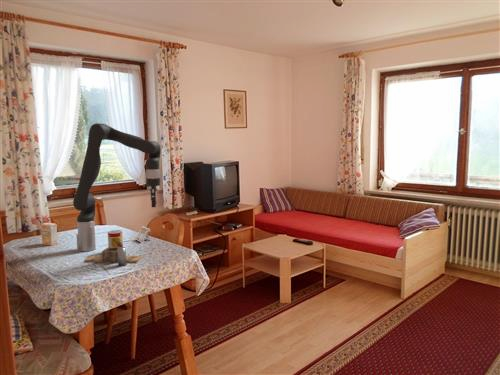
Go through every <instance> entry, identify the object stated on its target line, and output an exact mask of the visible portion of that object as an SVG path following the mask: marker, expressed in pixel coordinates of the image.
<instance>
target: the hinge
mask: <svg viewBox="0 0 500 375" xmlns="http://www.w3.org/2000/svg"><path fill="white" fill-rule="evenodd" d="M117 248H120V247H107V248H105V249H103V250H102V251H101V255H98V254H97V255H96V254H95V255H93V254H92V255H90V256H88V257H86V258H85V259H84V263H109V264H110V263H111V264H112V263H116V264H118V252H117ZM142 259H143V256H142V255H126V264H127V263H128V264H134V263H135V264H137V263H139V261H141V260H142Z"/></svg>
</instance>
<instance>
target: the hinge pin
mask: <svg viewBox="0 0 500 375" xmlns="http://www.w3.org/2000/svg"><path fill="white" fill-rule="evenodd" d="M126 248H127V247H126V246H125V247H124V246H123V247H120V248H117V252H118V263H117V266H118V267H126V266H127V263H126V256H127V254H126Z"/></svg>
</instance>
